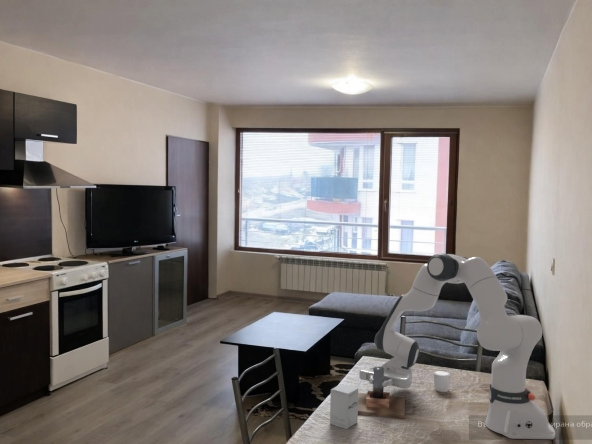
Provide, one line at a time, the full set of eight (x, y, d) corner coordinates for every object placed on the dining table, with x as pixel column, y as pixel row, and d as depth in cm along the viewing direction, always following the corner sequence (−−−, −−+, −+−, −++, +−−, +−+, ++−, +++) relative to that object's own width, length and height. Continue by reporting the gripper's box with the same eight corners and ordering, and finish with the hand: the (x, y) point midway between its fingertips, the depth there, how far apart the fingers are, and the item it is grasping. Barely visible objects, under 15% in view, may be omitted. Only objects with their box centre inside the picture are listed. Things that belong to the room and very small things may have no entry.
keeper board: (404, 399, 211) (404, 389, 211) (404, 418, 194) (404, 407, 194) (353, 395, 215) (354, 385, 215) (349, 413, 198) (349, 402, 198)
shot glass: (451, 392, 220) (452, 375, 219) (435, 392, 220) (435, 375, 219) (447, 386, 226) (448, 370, 226) (431, 386, 227) (431, 370, 226)
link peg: (383, 397, 206) (384, 367, 205) (383, 401, 202) (383, 370, 201) (373, 396, 207) (373, 366, 206) (372, 400, 203) (373, 369, 202)
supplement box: (347, 429, 184) (348, 393, 183) (329, 424, 188) (329, 388, 188) (358, 422, 190) (359, 387, 189) (340, 417, 194) (341, 383, 194)
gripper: (367, 360, 220) (352, 370, 209) (415, 369, 210) (403, 380, 198) (367, 375, 221) (352, 385, 209) (415, 385, 210) (402, 396, 198)
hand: (377, 383), depth 203 cm, fingers closed on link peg, 4 cm apart
